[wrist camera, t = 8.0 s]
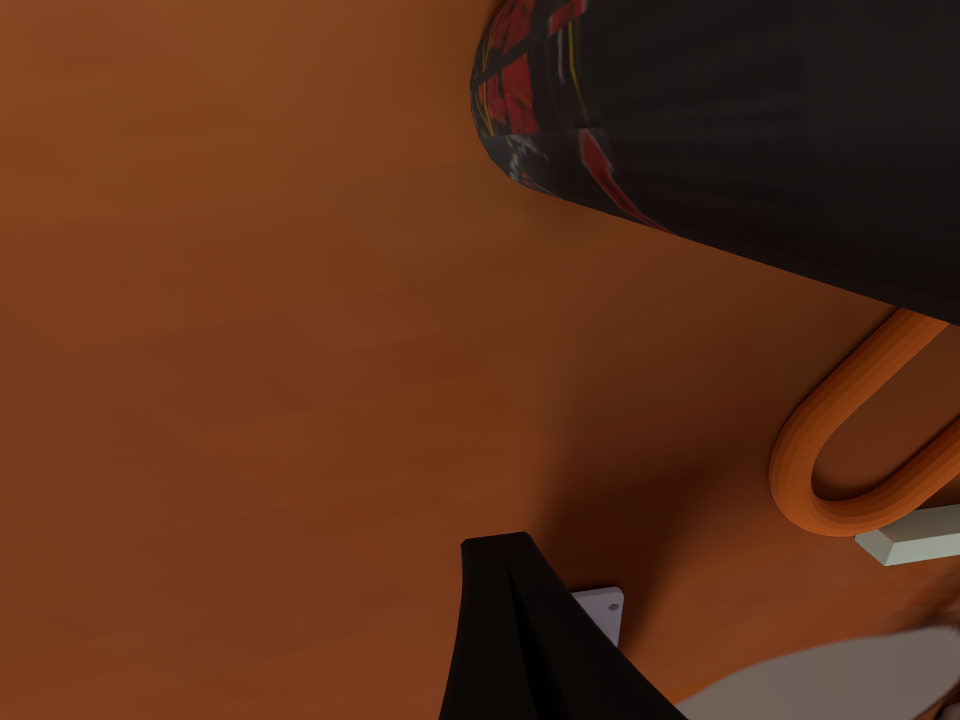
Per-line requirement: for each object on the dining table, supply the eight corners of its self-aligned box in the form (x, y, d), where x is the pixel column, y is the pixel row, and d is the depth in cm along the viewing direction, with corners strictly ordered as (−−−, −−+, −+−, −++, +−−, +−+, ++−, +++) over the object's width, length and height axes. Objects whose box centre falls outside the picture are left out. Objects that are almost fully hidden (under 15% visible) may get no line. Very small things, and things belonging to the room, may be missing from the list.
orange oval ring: (744, 488, 22) (1042, 208, 18) (721, 465, 23) (992, 203, 20) (853, 571, 25) (1120, 348, 22) (827, 546, 27) (1073, 335, 23)
